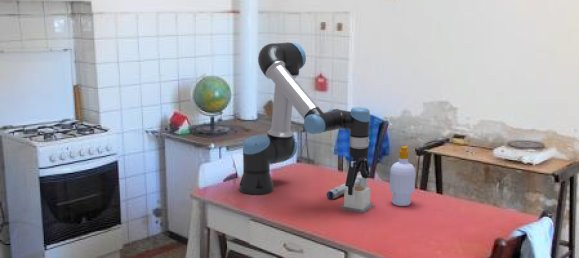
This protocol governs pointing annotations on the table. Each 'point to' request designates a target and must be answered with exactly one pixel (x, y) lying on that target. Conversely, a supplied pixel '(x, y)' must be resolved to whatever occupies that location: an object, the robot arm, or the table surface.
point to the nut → (358, 198)
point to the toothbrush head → (341, 189)
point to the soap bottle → (402, 179)
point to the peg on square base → (357, 188)
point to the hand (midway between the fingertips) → (357, 197)
